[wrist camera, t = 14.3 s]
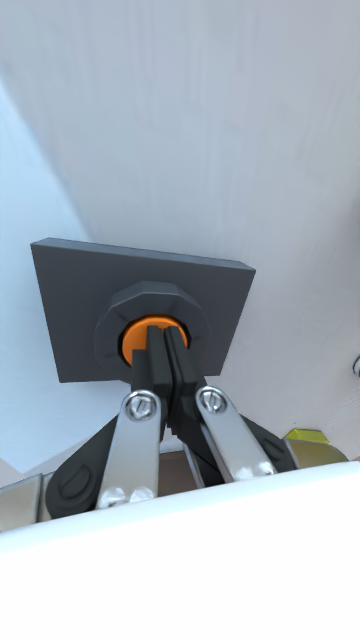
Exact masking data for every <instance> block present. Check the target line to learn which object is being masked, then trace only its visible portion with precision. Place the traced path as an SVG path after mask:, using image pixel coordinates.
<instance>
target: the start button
mask: <svg viewBox="0 0 360 640" xmlns="http://www.w3.org/2000/svg"><path fill="white" fill-rule="evenodd" d="M147 325H158V328H162V332H164V328H167V327H168V326H178V327H179V329H180V332H181V335H182V338H183V340H184V343H185V346H186V348H187V339H186V336H185V333H184V331H183V328H182V326H181V323H180V321H179V320H178V319H176V318H174V317H173V316H171V315H164V314H146V315H144V316H142V317H140V318H137V319H135V320H133V321H131V322H129V323H128V324H127V326H126V327H125V329H124V337H123V354H124V357H125V359H126V360H127V362H128V363H129V364H130V365H132V349H145V347H146V335H147Z"/></svg>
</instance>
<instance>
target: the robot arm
mask: <svg viewBox="0 0 360 640" xmlns="http://www.w3.org/2000/svg"><path fill="white" fill-rule="evenodd" d="M166 424H167V428H171V431H172V435H177V438H178V439H180V440H181V441H182V442H183V448H184V451H185V454H186V457H187V460H188V463H189V466H190V469H191V472H192V475H193V478H194V481H195V483H196V486H197V489H198V490H193V491H188V492H183V493H178V494H173V495H168V496H163V497H158V472H159V447H160V443H161V441H162V440H163V436H164V431H165V426H166ZM157 497H158V498H157ZM0 640H360V461H349V460H348V459H347V458H346V456H345V455H344V454H343V453H342V452H340V451H339V450H338V449H337V448H335V447H333V446H332V445H329V444H326V443H319V442H311V441H304V440H297V439H289V438H283V440H281V439H279V438H278V437H277V436H275V435H274V434H272V433H270V432H269V431H267V430H266V429H264V428H262V427H261V426H259V425H257V424H256V423H254V422H253V421H251V420H249V419H248V418H246V417H244V416H243V415H241V414H240V413H238V411H237V410H236V408H235V407H234V405H233V404H232V402H231V400H230V399H229V397H228V396H227V395H226V394H225V393H224V392H223V391H222V390H220V389H219V388H216V387H213V386H207V383H206V381H205V378H204V376H203V373H202V371H201V368H200V366H199V364H198V361H197V359H196V356H195V354H194V351H193V350H192V349H186V346H185V343H184V340H183V338H182V335H181V332H180V329H179V327H178V326H168V327H167V328H164V332H162V328H158V325H147V335H146V347H145V349H132V373H131V393H129V394H128V395H127V396H126V397H125V398H124V399H123V402H122V404H121V408H120V412H119V414H118V415H116V416H115V417H114V418H113V419H112V420H111V421H110V422H109V423H108V424H106V425H105V426H104V427H103V428H102V429H101V430H100V431H99V432H97V433H96V434H95V435H94V436H93V437H92V438H91V439H90V440H89V441H87V442H86V443H85V444H84V445H83V446H82V447H81V448H80V449H78V450H77V451H76V452H75V453H74V454H73V455H72V456H71V457H70V458H68V459H67V460H66V461H65V462H64V463H63V464H62V465H61V466H60V467H59V468H58V469H57V470H56V471H54V472H51V473H48V474H46V475H43V474H42V473H40V474H37V475H35V476H32V477H29V478H26V479H24V480H21V481H18V482H16V483H13V484H10V485H7V486H5V487H2V488H0Z"/></svg>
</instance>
